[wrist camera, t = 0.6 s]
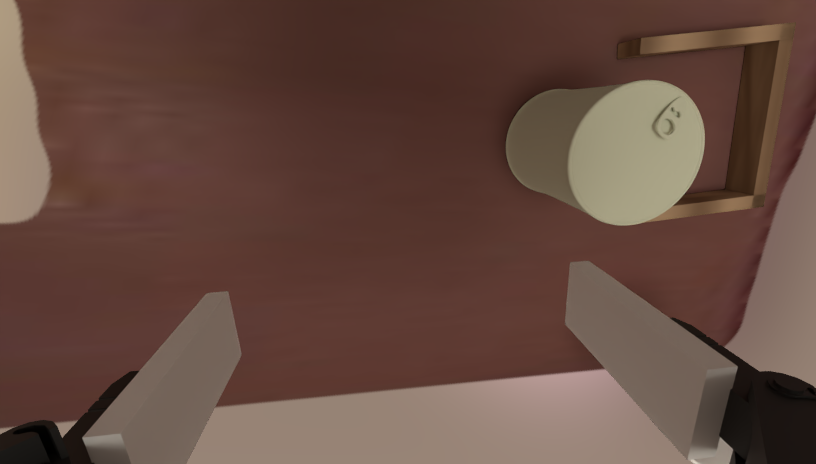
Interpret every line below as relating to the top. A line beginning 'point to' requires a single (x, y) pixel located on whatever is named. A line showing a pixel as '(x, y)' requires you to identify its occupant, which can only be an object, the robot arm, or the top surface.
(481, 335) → the top surface
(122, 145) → the top surface
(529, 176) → the can
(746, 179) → the corral
